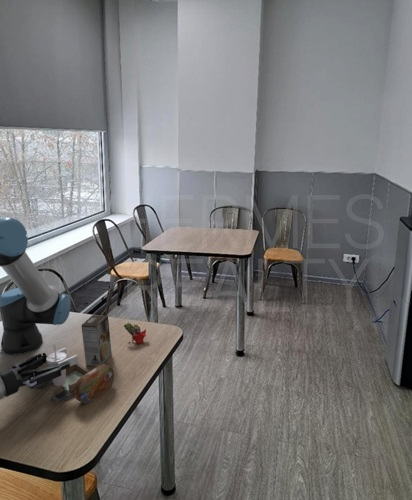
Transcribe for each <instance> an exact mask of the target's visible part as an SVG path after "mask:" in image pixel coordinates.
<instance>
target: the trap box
mask: <svg viewBox="0 0 412 500" xmlns="http://www.w3.org/2000/svg"><path fill="white" fill-rule="evenodd" d="M90 371H91V370H90V369H88V368H86V367H85V366H84V365H82V364H80V363H79V362H78V363H77V364H75V365H73V366H70V367H69V368H66V383H65V384H64V385H62V386H61V387H62V388H63V390H60V392H57V393H56V394H53V395H52V396H51V399H52V400H53V401H54V402H55V403H56V404H60V403H62V402H64V401H66V400H68V399H70V398H72V397H73V393H74V387H75V385H76V383H77V381H78V380H79V379H80V378H81V377H82V376H84V375H85V374H87V373H88V372H90ZM51 384H54V383H53V379H52V380H49V381H47V382H45V383H42V384H40V385H38V386H36V388H38V389H42V388H44V387H46V386H49V385H51Z"/></svg>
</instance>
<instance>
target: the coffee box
mask: <svg viewBox="0 0 412 500" xmlns="http://www.w3.org/2000/svg"><path fill="white" fill-rule="evenodd" d="M80 327H81V334H82V341H83V342H82V344H83V351H84V353H83V354H84V360H85V361H84V362H85V365H86V366H95V367H97V366H99V365H104V364H105V362H106V361H107V360H108V358H109V357H110V356H112V346H111V344H112V343H111V333H110V323H109V315H99V314H91V316H90V317H89V318H88V319H86V320H85V321H84V322H83V323H82V324H81V326H80Z"/></svg>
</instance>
